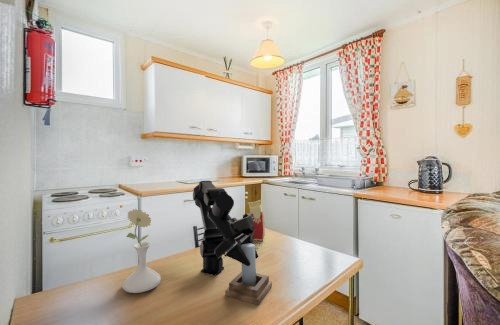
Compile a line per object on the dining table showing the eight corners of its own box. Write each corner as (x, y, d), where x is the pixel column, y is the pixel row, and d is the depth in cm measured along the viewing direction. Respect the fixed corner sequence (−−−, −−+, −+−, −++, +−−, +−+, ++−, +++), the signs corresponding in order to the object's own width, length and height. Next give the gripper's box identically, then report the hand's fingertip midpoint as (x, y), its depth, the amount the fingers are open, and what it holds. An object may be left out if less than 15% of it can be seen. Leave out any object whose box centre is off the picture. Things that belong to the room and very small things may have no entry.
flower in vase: (168, 283, 79) (168, 208, 78) (137, 301, 69) (136, 216, 68) (143, 273, 85) (143, 204, 85) (111, 288, 76) (111, 210, 75)
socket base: (225, 295, 72) (225, 283, 72) (241, 278, 82) (241, 268, 82) (258, 304, 68) (258, 292, 68) (271, 286, 78) (271, 275, 77)
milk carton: (264, 235, 128) (265, 198, 128) (264, 241, 119) (264, 201, 119) (248, 234, 129) (248, 197, 129) (246, 240, 120) (246, 201, 120)
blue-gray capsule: (239, 287, 74) (238, 247, 74) (246, 280, 78) (244, 242, 78) (252, 290, 72) (251, 248, 72) (258, 283, 76) (257, 244, 76)
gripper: (223, 212, 68) (258, 258, 63) (251, 201, 84) (280, 237, 80) (200, 236, 71) (232, 280, 67) (231, 220, 88) (258, 255, 84)
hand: (253, 261), depth 74 cm, fingers open, 6 cm apart
